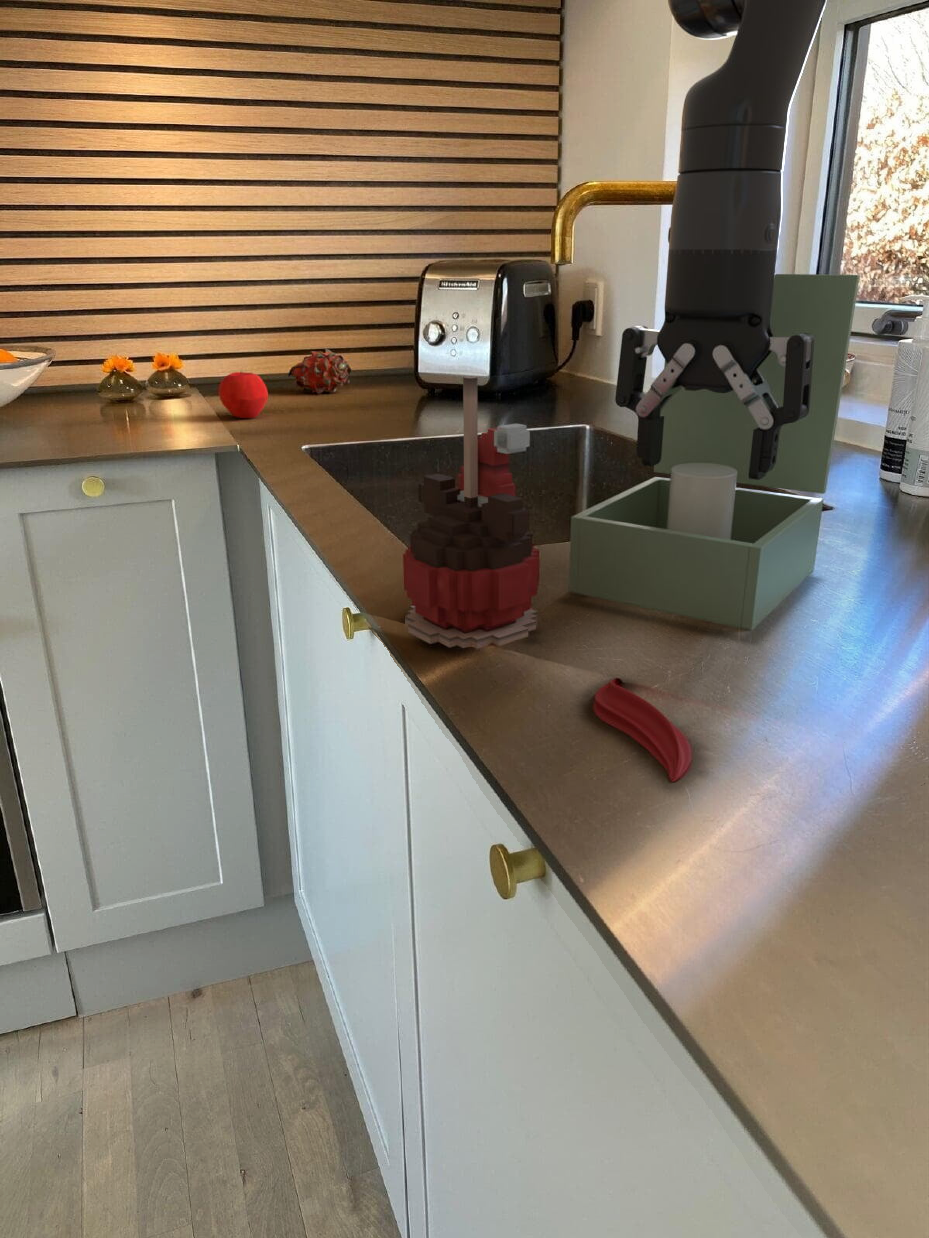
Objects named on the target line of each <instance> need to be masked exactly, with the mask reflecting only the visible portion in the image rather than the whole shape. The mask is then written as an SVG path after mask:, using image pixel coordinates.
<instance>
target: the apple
mask: <svg viewBox="0 0 929 1238" xmlns="http://www.w3.org/2000/svg"><path fill="white" fill-rule="evenodd" d="M266 385H267V384H265V382H264V380H263V379H262V378H261V377H260V376H259V375H258V374H256V373H253V372H242V371H241V370H240V371H236V372H235V371H234V372H231V373H229V374H228V375H227V374H226V376H224V378H222V380H221V381H220V384H219V385H218V396H219V400H220V402H221V404H222V405H223V406H224V408H226V410H227V411H228V412H229V413H230V414H231V415H232V416H233V417H235V418H239V419H255V418H257V417H258V416H259V415H260V414H261V413H262V411H263V409H264V407H265V405H266V404H267V402H268V398H269V393H268V392H269V391H268V388H267V386H266Z"/></svg>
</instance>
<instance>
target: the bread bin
mask: <svg viewBox="0 0 929 1238" xmlns="http://www.w3.org/2000/svg"><path fill="white" fill-rule="evenodd" d="M669 489H670V478H667V477H659V476H654V477H652V478H649V479H647V480H645V481H644V482H641V483H639V484H637V485H635V486H633V487H631V488H629V489H627V490H624V491H623V492H621V493H620V492H619V494H616V495H613V496H612V497H610V498H608V499H605V500H604V501H601V502H600V503H597V504H595V505H593V506H591V507H589V508H586V509H585V510H583V511H581V512H579V513H577V514H574V515H573V516H571V517H570V537H569V538H570V539H569V568H568V569H569V570H568V593H574V594H578V595H583V596H587V597H588V596H589V597H593V598H596V599H601V600H607V601H611V602H616V603H621V604H625V605H630V606H635V607H640V608H645V609H649V610H652V611H653V610H654V611H658V612H663V613H667V614H668V613H669V614H673V615H677V616H682V617H687V618H691V619H695V620H700V621H705V622H710V623H715V624H719V625H725V626H729V627H734V628H739V629H743V630H748V631H753V630H754V629H755V628H756V627H757V626H758V625H759V624H760V623H761V622H762V621H763V620H764V619H765V618H766V617H767V616H768V615H769V614H771V612H772V611H774V610H775V608H777V607H778V605H780V604H781V602H783V601H784V600H785V598H787V597H788V596H789V595H790V594H791V593H792V592H793V591H794V590H795V589H796V588H797V587H798V586H799V585H800V584H801V583H802V582H803V581H805V579H807V577H809V576H810V575H811V574H812V573H813V571H814V570H815V565H816V557H817V551H818V543H819V535H820V527H821V521H822V520H821V519H822V513H823V507H824V506H823V504H824V498H820V497H819V498H818V497H813V496H812V497H811V496H804V495H795V494H789V493H781V492H773V491H767V490H766V491H765V490H759V489H751V488H743V487H736V493H735V503H734V513H733V523H732V533H731V540H729V539H723V538H716V537H710V536H704V535H698V534H692V533H686V532H680V531H673V530H667V516H668V503H669Z"/></svg>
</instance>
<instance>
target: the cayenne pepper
mask: <svg viewBox="0 0 929 1238" xmlns="http://www.w3.org/2000/svg"><path fill="white" fill-rule="evenodd" d="M623 686H624V681H623V680H622V679H621V678H619V677H615V678H613V679H611V680H610V681H609V682H608V683H606V684H604V685H603V686H601V687H600V688H598V689H597V690H596V692H595V694H594V702H593V705H592V708H593V712H594V714H595V715H596V716H597V717H598V718H599V720H602V721H603V722H604V723H606V724H608V725H610V726H612V727H614V728H615V729H617V730H619V731H621V732H623V733H625V734H627V735H628V736H629V737H630V738H632V739H633V740H634V741H636V742H637V743H638V744H639V745H641V746H642V747H643V748H645V749H646V750H647V751H648V752H649V753H650V754H651V755H652V756H653V757H654V758H655V760H657V761H658V762H659V763H660V765H661V766H662V767H663V768H664V769H665V771H666V772H667V774H668V778H669V780H670V782H671V783H674V782H677V781H679V780H681V779H682V778H683V777H684V776H685V775H687V773H688V772H689V770H690V769H691V765H692V764H691V763H692V748H691V745H690V742H689V741H688V738H687V737H686V735H685V734H684V733H683V732H682V731H681V730H680V729H679V728H678V727H677V726H676V725H674V724H673V723H672V722H671V721H670V720H669V719H668V718H667V717H666V716H665V715H664V714H663V712H661V711H660V710H659V709H658V708H657V707H656V706H654V705H653V704H651V703H650V702H648V701H647V700H646V699H644V698H642V696H641V697H640V696H639V695H637V694H635V693H634V692H632V691H630V690H628V689H626V688H625V687H623Z"/></svg>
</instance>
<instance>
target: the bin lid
mask: <svg viewBox="0 0 929 1238" xmlns="http://www.w3.org/2000/svg"><path fill="white" fill-rule="evenodd" d="M860 279H861V275H859V274H815V273H814V274H813V273H812V274H811V273H807V274H806V273H803V274H802V273H775V281H774V290H773V299H772V308H771V315H770V328H771V331H772V334H773V336H794V335H798V334H802V333H810V334H811V335H812V336H813V337H814V353H813V367H812V382H811V396H810V410H809V413H808V415H807V416H806V417H804V418H802V419H800V420H798V421H796V422H794V423H788V424H784V425H783V426H782V427H781V429H780V434H779V442H778V449H777V459H776V464H775V466H774V468H773V469H772V470H771V471H769V472H767V473H766V475H765V477H763V478H761V479H760V480H756V479H749V466H750V457H751V448H752V439H753V430H754V429H756V428H758V425H757V424H756V422H755V420H754V419H753V417H752V415H751V413H750V412H749V410H748V408H747V407H746V406H745V405H744V404H742V403H741V401H740V400H739V398H738V396H737V395H736V393H735V391H734V390H733V391H730V392H728V393H715V392H712V391H710V390H707V389H701V390H696V391H691V390H685V388H684V387H682V388H681V389H680V390H679V391H678V392H677V393H676V394H675V395H674V396H673V397H672V398H671V399H670V400H669V402H668V403H667V404H666V405H665V406H664V408H663V409H662V410H661V412H660V416H664V428H663V441H662V455H661V460H660V462H659V463H658V464H656V465H654V466H653V473H659V474H665V475H666V474H668V475H671V468H672V467H673V466H676V465H680V464H686V463H712V464H720V465H725V466H729V467H732V468H734V469H736V470H737V472H738V473H737V483H736V484H743V485H744V484H745V485H750V486H751V485H752V486H760V487H765V488H766V487H767V488H775V489H782V490H783V489H784V490H789V491H790V490H791V491H798V492H806V493H814V494H821V495H823V494H826V492H827V487H828V480H829V474H830V467H831V461H832V455H833V449H834V443H835V436H836V430H837V423H838V417H839V409H840V404H841V398H842V392H843V386H844V385H843V384H844V380H845V379H844V378H845V373H846V367H847V366H846V365H847V360H848V354H849V347H850V340H851V333H852V327H853V323H854V322H853V321H854V316H855V309H856V302H857V297H858V291H859V285H860V284H859V283H860ZM666 366H667V362H666V360H665V359H664V366H663V369H664V368H665V367H666ZM759 369H760V371H761V372H762V374H763V376H764V377H765V379H766V381H767V383H768V384H769V386H770V388H771V394H772V395H773V397H774V399H775V400H776V402H777V404H778V406H779V407H782V406H783V398H784V382H785V367H782V366H781V365H780V364H779V363H778V358H777V355H776V353H775V352H773V351H772V352H771V353H770V354H769V356H768V357H767V358H766V359H765V360H764V362H763V363H762V364H761V365H760V366H759ZM755 382H756V380H755ZM742 387H743V386H742Z"/></svg>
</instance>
